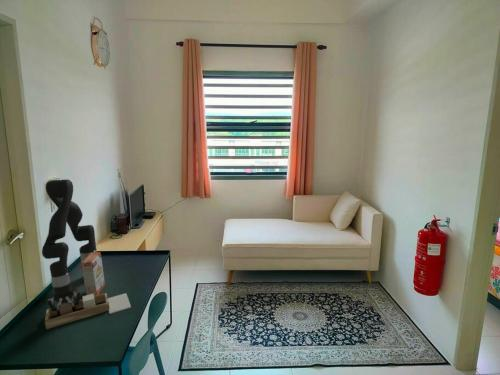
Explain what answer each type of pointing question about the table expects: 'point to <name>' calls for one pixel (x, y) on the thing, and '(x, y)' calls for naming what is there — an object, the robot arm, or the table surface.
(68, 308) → the walnut block
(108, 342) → the table surface
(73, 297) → the smartphone
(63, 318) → the bin
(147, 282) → the table surface
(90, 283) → the cracker box
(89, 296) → the cream block
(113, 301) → the pad
